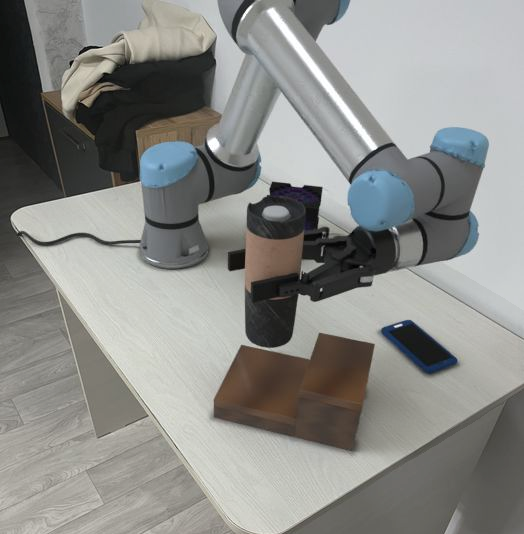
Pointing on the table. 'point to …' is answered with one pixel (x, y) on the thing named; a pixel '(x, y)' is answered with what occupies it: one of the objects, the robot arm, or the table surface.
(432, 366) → the cell phone
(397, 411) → the table surface
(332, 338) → the walnut shelf
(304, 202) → the energy cube
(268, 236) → the travel mug
